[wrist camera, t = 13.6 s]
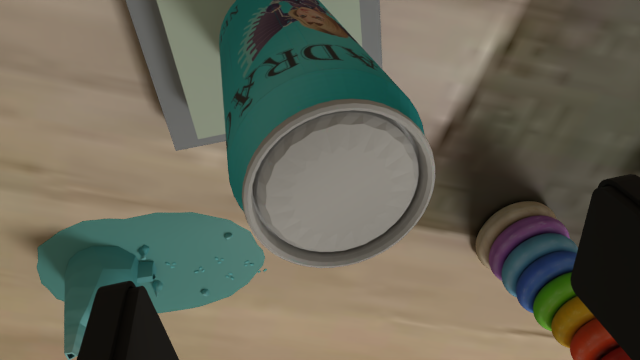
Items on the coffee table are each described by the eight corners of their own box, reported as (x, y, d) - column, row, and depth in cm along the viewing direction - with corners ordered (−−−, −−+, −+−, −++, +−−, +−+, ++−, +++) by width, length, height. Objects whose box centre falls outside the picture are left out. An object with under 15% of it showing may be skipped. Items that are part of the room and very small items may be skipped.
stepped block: (357, -139, 26) (392, -142, 21) (371, 92, 34) (398, 129, 29) (103, -103, 25) (77, -98, 20) (178, 130, 33) (173, 175, 28)
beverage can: (332, -21, 24) (470, 91, 11) (323, 87, 27) (423, 269, 14) (216, -28, 22) (227, 90, 10) (220, 87, 25) (232, 285, 13)
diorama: (275, 302, 44) (289, 383, 37) (43, 325, 40) (8, 421, 33) (279, 196, 38) (295, 269, 31) (3, 211, 34) (-51, 299, 27)
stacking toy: (455, 245, 44) (587, 440, 29) (516, 183, 42) (697, 363, 26) (505, 272, 48) (645, 458, 33) (564, 217, 45) (748, 392, 30)
